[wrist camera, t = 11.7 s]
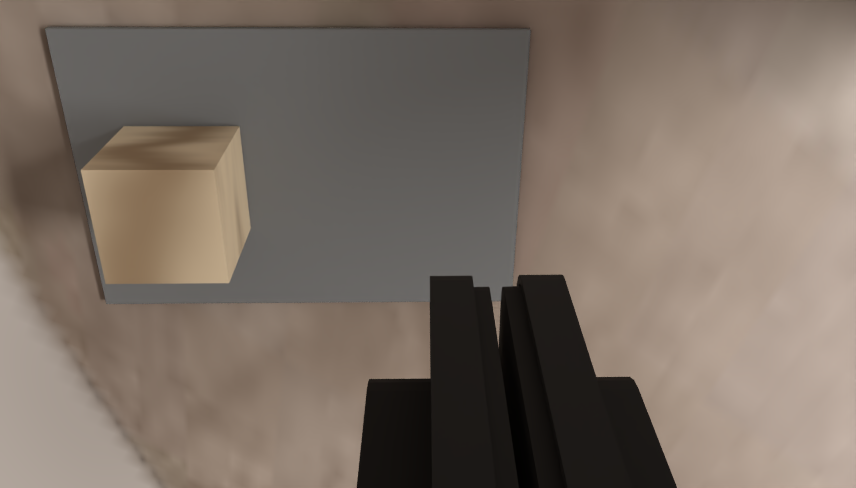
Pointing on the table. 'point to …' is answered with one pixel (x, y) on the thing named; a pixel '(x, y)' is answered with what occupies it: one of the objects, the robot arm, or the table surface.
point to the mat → (325, 148)
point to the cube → (169, 204)
